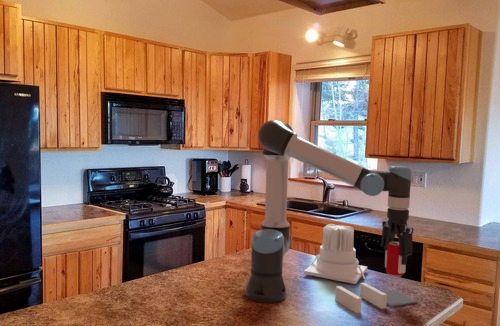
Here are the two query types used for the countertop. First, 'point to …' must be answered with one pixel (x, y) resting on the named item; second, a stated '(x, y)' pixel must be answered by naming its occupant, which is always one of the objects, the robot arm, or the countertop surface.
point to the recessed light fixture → (337, 256)
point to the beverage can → (393, 259)
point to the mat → (397, 299)
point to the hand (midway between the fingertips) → (394, 269)
